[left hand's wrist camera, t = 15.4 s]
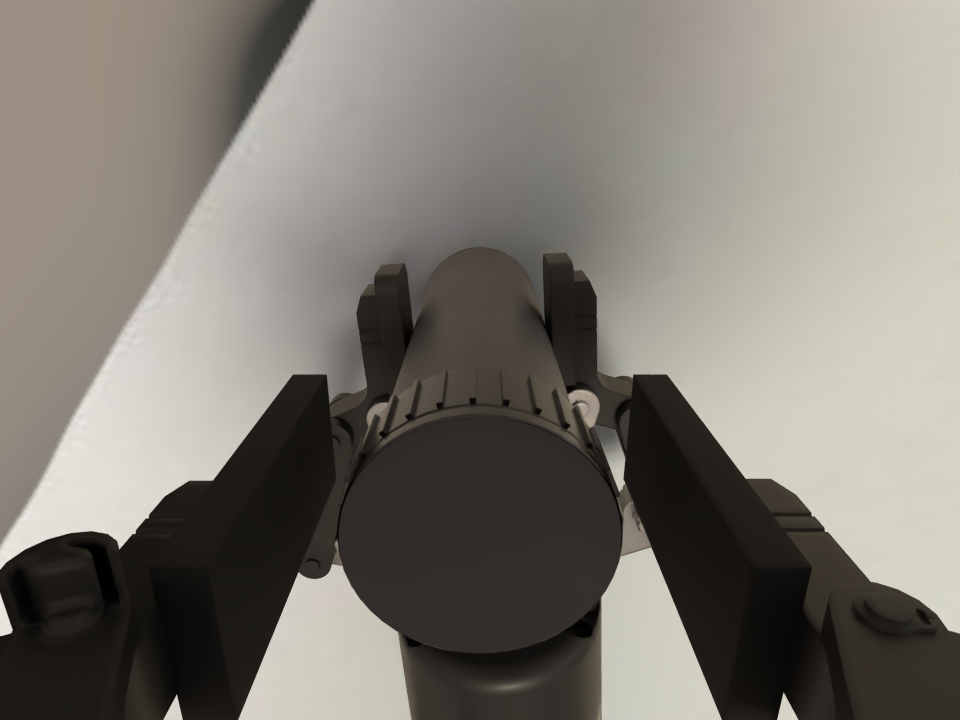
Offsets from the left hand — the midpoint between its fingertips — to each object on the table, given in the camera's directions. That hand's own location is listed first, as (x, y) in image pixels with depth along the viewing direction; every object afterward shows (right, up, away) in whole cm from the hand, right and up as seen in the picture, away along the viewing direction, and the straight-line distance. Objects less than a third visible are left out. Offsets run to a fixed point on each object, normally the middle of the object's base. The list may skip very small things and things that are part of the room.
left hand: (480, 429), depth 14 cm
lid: (0, -1, -4) cm, 4 cm away
